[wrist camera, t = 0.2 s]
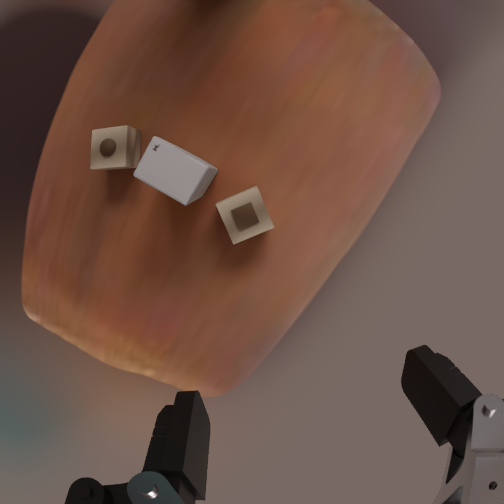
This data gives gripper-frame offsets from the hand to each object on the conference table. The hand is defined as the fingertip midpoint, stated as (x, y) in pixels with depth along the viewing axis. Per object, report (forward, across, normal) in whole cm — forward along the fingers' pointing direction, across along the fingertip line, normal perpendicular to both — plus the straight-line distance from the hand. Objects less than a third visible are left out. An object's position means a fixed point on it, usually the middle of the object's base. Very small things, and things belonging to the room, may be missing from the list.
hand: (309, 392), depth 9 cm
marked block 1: (+29, +16, -14) cm, 36 cm away
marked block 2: (+29, +1, -3) cm, 29 cm away
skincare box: (+29, +7, -9) cm, 31 cm away
